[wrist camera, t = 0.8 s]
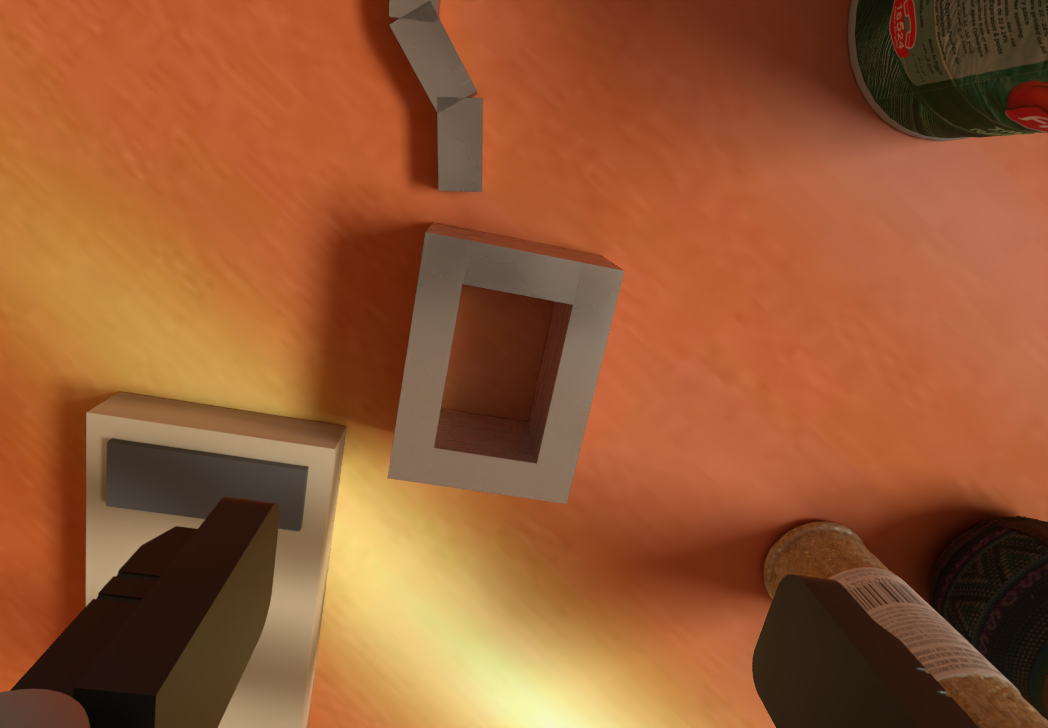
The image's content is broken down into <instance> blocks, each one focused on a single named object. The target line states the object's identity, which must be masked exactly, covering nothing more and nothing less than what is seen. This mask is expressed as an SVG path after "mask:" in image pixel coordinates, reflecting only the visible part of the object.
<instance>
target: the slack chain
mask: <svg viewBox="0 0 1048 728" xmlns="http://www.w3.org/2000/svg"><path fill="white" fill-rule="evenodd" d="M439 9H440V0H389V18H390V19H391V21H392V23H391V24H390V25H389V26H390V27H391V29H392V31H393V33H394V35H395V37H396V38H397V40H398V42H399V44H400V46H401V48H402V49H403V51H404V53H405V55H406V57H407V59H408V60H409V62H410V64H411V66H412V68H413V70H414V71H415V73H416V75H417V77H418V79H419V81H420V82H421V84H422V86H423V88H424V90H425V91H426V93H427V95H428V97H429V99H430V101H431V102H432V104H433V106H434V108H435V110H436V112H437V125H438V191H468V192H482V98H472V97H473V96H475V95H477V90H476V88H475V86H474V84H473V83H472V81H471V79H470V77H469V75H468V73H467V71H466V69H465V67H464V65H463V63H462V61H461V60H460V58H459V56H458V54H457V52H456V50H455V48H454V46H453V44H452V42H451V40H450V38H449V36H448V35H447V33H446V31H445V29H444V27H443V25H442V23H441V21H440V19H439Z"/></svg>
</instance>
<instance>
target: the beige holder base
mask: <svg viewBox="0 0 1048 728" xmlns="http://www.w3.org/2000/svg"><path fill="white" fill-rule="evenodd" d="M346 427H347V426H341V425H334V424H328V423H321V422H315V421H308V420H302V419H295V418H289V417H282V416H276V415H269V414H263V413H256V412H250V411H243V410H237V409H230V408H223V407H217V406H210V405H204V404H197V403H191V402H184V401H178V400H171V399H165V398H158V397H152V396H145V395H139V394H132V393H126V392H118V393H117V394H115V395H113V396H112V397H110V398H109V399H107V400H105V401H104V402H102V403H101V404H99V405H97V406H96V407H94V408H92V409H91V410H89V411H88V412H86V606H87V605H88V604H89V603H90V602H91V601H92V599H97V597H98V593H99V592H100V591H101V590H102V588H103V587H104V586H105V585H106V584H107V583H108V582H109V581H110V580H111V578H112V577H113V576H117V574H118V571H119V570H120V568H121V567H122V566H123V565H124V564H125V563H126V562H127V561H128V560H129V558H130V557H131V556H132V555H133V554H134V553H135V552H136V551H137V550H138V549H139V547H140V546H141V545H143V544H145V543H147V542H148V541H150V540H152V539H154V538H156V537H157V536H159V535H161V534H163V533H165V532H166V531H168V530H170V529H172V528H174V527H175V526H179V527H187V528H195V529H198V528H199V527H200V526H201V524H202V523H203V522H204V520H205V519H206V518H207V517H208V515H209V514H210V513H211V512H212V510H213V509H214V508H215V506H216V505H217V504H218V503H219V501H220V500H221V499H222V498H224V497H233V498H241V499H248V500H256V501H263V502H270V503H277V504H278V505H279V511H280V516H279V527H278V537H277V547H276V557H275V567H274V577H273V587H272V595H271V601H270V606H269V610H268V614H267V618H266V622H265V625H264V628H263V631H262V633H261V636H260V638H259V641H258V643H257V645H256V647H255V649H254V651H253V653H252V656H251V658H250V660H249V662H248V664H247V666H246V668H245V670H244V673H243V675H242V677H241V679H240V681H239V683H238V685H237V688H236V690H235V692H234V694H233V696H232V698H231V700H230V703H229V705H228V707H227V709H226V711H225V713H224V715H223V717H222V720H221V722H220V724H219V726H218V728H307V726H308V719H309V711H310V703H311V696H312V688H313V680H314V673H315V665H316V657H317V650H318V642H319V634H320V626H321V619H322V611H323V603H324V596H325V588H326V580H327V573H328V565H329V557H330V550H331V542H332V534H333V527H334V519H335V511H336V503H337V496H338V488H339V480H340V473H341V465H342V457H343V450H344V442H345V434H346Z"/></svg>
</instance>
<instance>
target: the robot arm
mask: <svg viewBox="0 0 1048 728" xmlns="http://www.w3.org/2000/svg"><path fill="white" fill-rule="evenodd" d="M279 516H280V511H279V505H278V504H277V503H270V502H263V501H256V500H248V499H241V498H233V497H224V498H222V499H221V500H220V501H219V503H218V504H217V505H216V506H215V508H214V509H213V510H212V512H211V513H210V514H209V515H208V517H207V518H206V519H205V520H204V522H203V523H202V524H201V526H200V527H199V528H198V529H195V528H187V527H179V526H175V527H174V528H172V529H170V530H168V531H166V532H165V533H163V534H161V535H159V536H157V537H156V538H154V539H152V540H150V541H148V542H147V543H145V544H143V545H141V546H140V547H139V549H138V550H137V551H136V552H135V553H134V554H133V555H132V556H131V557H130V558H129V560H128V561H127V562H126V563H125V564H124V565H123V566H122V567H121V568H120V570H119V571H118V574H117V576H113V577H112V578H111V580H110V581H109V582H108V583H107V584H106V585H105V586H104V587H103V588H102V590H101V591H100V592H99V593H98V597H97V599H92V601H91V602H90V603H89V604H88V605H87V606H86V607H85V608H84V609H83V611H82V612H81V613H80V614H79V615H78V616H77V617H76V618H75V619H74V621H73V622H72V623H71V624H70V625H69V626H68V627H67V628H66V629H65V630H64V632H63V633H62V634H61V635H60V636H59V637H58V638H57V639H56V640H55V642H54V643H53V644H52V645H51V646H50V647H49V648H48V649H47V650H46V652H45V653H44V654H43V655H42V656H41V657H40V658H39V659H38V660H37V662H36V663H35V664H34V665H33V666H32V667H31V668H30V669H29V670H28V671H27V673H26V674H25V675H24V676H23V677H22V678H21V679H20V680H19V681H18V683H17V684H16V685H15V686H14V687H13V688H12V689H11V690H10V691H7V692H1V693H0V728H218V726H219V724H220V722H221V720H222V717H223V715H224V713H225V711H226V709H227V707H228V705H229V703H230V700H231V698H232V696H233V694H234V692H235V690H236V688H237V685H238V683H239V681H240V679H241V677H242V675H243V673H244V670H245V668H246V666H247V664H248V662H249V660H250V658H251V656H252V653H253V651H254V649H255V647H256V645H257V643H258V641H259V638H260V636H261V633H262V631H263V628H264V625H265V622H266V618H267V614H268V610H269V606H270V601H271V595H272V587H273V577H274V567H275V557H276V547H277V537H278V527H279ZM752 670H753V679H754V683H755V687H756V690H757V692H758V695H759V697H760V698H761V700H762V702H763V704H764V706H765V708H766V710H767V711H768V713H769V715H770V717H771V719H772V721H773V723H774V724H775V726H776V728H979V727H978V726H977V724H976V723H975V722H974V721H973V720H972V719H971V718H970V717H969V716H968V714H967V713H966V712H965V711H964V710H963V709H962V708H961V707H960V706H959V705H958V703H957V702H956V701H955V700H954V699H953V698H952V697H947V695H946V690H945V689H944V688H943V687H942V686H941V685H940V684H939V682H938V681H937V680H936V679H935V678H934V677H933V676H932V675H931V674H929V673H926V672H925V667H924V666H923V665H922V664H921V663H920V661H919V660H918V659H917V658H916V657H915V656H914V655H913V654H912V653H911V652H910V650H909V649H908V648H907V647H906V646H905V645H904V644H903V643H902V642H901V641H900V640H899V639H898V638H896V637H895V636H894V635H892V634H891V633H890V632H888V631H887V630H886V629H884V628H883V627H882V626H880V625H879V624H878V623H876V622H875V621H874V620H873V619H872V618H871V617H870V616H869V614H868V613H867V612H866V611H865V610H864V609H863V608H862V607H861V605H860V604H859V603H858V602H857V601H856V600H855V599H854V598H853V596H852V595H851V594H850V593H849V592H848V591H847V590H846V589H845V587H844V586H843V585H842V584H841V583H839V582H838V581H836V580H832V579H824V578H817V577H809V576H802V575H795V574H789V575H786V576H785V577H783V579H782V580H781V581H780V583H779V585H778V587H777V590H776V592H775V595H774V598H773V601H772V603H771V606H770V609H769V612H768V614H767V617H766V620H765V623H764V625H763V628H762V631H761V634H760V636H759V639H758V642H757V645H756V647H755V650H754V655H753V663H752Z"/></svg>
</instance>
